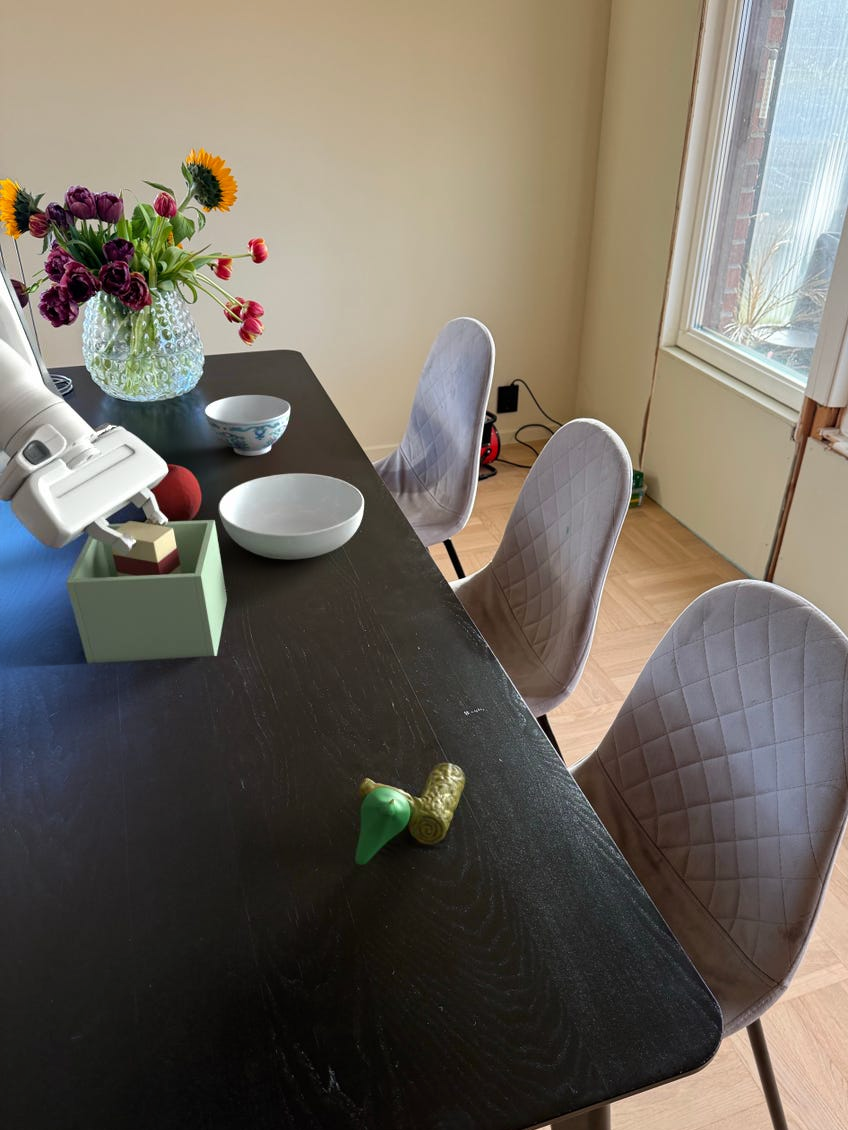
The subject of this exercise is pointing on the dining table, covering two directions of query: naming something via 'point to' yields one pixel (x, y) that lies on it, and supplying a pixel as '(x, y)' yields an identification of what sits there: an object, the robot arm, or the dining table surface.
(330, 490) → the serving bowl
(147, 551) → the chocolate box
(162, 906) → the dining table surface
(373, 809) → the bird figurine
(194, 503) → the apple
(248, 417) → the chinaware
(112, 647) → the trash bin
